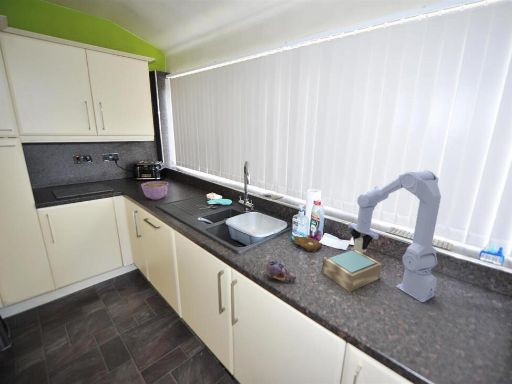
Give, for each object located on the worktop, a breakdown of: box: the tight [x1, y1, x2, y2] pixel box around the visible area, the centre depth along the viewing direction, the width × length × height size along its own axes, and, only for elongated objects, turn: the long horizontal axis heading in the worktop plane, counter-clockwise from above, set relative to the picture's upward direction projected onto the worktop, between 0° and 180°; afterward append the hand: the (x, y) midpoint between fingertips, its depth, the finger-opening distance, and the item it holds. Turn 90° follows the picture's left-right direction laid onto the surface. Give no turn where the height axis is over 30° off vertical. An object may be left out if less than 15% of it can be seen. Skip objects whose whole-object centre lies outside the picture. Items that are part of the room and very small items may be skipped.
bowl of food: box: [140, 180, 169, 201], centre depth 187 cm, size 20×20×12 cm
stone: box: [352, 236, 367, 254], centre depth 112 cm, size 4×4×6 cm
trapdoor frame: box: [321, 247, 383, 293], centre depth 95 cm, size 14×17×7 cm
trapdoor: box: [329, 250, 375, 274], centre depth 95 cm, size 11×14×1 cm
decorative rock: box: [293, 235, 323, 253], centre depth 119 cm, size 11×4×15 cm
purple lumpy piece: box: [265, 260, 297, 283], centre depth 92 cm, size 12×8×6 cm, turn 57°
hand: (360, 247), depth 112 cm, fingers closed on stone, 4 cm apart
